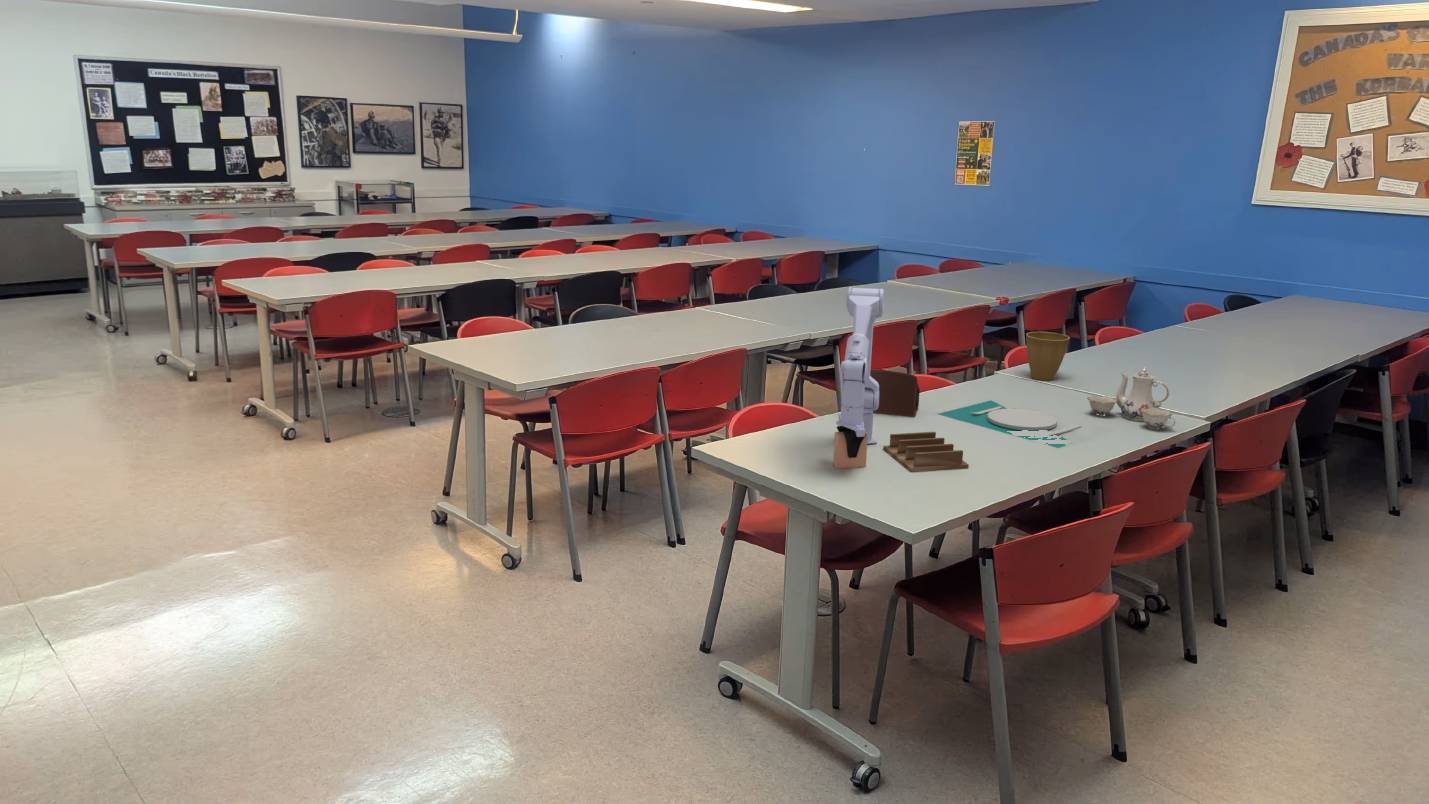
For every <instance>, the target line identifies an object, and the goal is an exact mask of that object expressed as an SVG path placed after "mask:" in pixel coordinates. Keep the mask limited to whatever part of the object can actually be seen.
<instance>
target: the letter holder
mask: <svg viewBox="0 0 1429 804" xmlns="http://www.w3.org/2000/svg"><path fill="white" fill-rule="evenodd" d="M870 376H871V377H872V378H873V379H874V380H876V381H877V382H878V384H879V406H878V409H877V410H876V411H874V412H873V414H878V415H890V416H901V417H909V418H910V417H911V418H915V417H916V415H917V413H918V411H919V403H920V394H921V393H920V390H921V389H920V387H919V386H920V385H919V383H918V377H917V376H916V375H914V374H911V373H910V374H909V373H906V372H900V371H894V370H885V369H871V370H870ZM865 388H868V387H865Z"/></svg>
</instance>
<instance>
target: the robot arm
mask: <svg viewBox="0 0 1429 804" xmlns="http://www.w3.org/2000/svg"><path fill="white" fill-rule="evenodd" d="M846 291H847V292H846V298H845V300H846V301H845V302H846V304H845V305H846V309H847V313H848V314H849V316H851V317H853V323H852V325H853V326H852V335H850V336H849V337H848V338H847V341H846V348H845V355H844V360H842V362H841V364H840V383H841V384H840V388H841V400H840V401H841V406H840V413H839V414H838V420H836V421H835V425H837V426H836V429H837V432H843V434H844V436H845V439H846V443H847V453H848V457H849V458H856V457H857V454H858V451H859V448H860V445H861V443H862V441H863V439H864V438H865V436H866V433H867V434H868V438H867V445H871V444H872V445H873V444H877V443H878V441H877V440H875V439H874V438H873V427H874V426H873V424H874V413H873V412H874V411H876V410H877V409H878V406H879V384H878V382H877V381H876V380H874V379H873V378H872V377H871V376H870V370H872V369H871V367H872V353H873V350H872V349H873V335H874V325H875V322H876V319H878V318H882V317H883V314H884V307H885V305H884V304H885V290H884V289H883V288H867V287H865V288H864V287H852V286H849V288H847V290H846ZM865 387H868V388H865ZM850 431H851V432H850ZM865 432H866V433H865Z"/></svg>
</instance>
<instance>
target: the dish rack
mask: <svg viewBox="0 0 1429 804" xmlns="http://www.w3.org/2000/svg"><path fill="white" fill-rule="evenodd" d="M889 435H890V436H889V445H883V446H882V447H883V448H882V449H883V450H884V451H885V452H886V453H887V454H889V455H890V456H891V457H892V458H894V459H895V460H896V461H897V462H898V463H899V464H900V465H902V466H903V467H904V468H905V469H906V470H908V471H909V472H911V473H914V472H917V473H918V472H929V471H931V472H933V471H944V470H960V469H961V470H962V469H969V468H970V467H969V466H970V465H969V464H968V463H967V462H966V461H964V460H963V459H964V458H963V456H964V455H963V454H964V450H962V449H958V450H954V445H955V444H953V443H945V441H946V440H945V438H944V437H936V435H937V432H936V431H922V432H920V431H919V432H905V433H902V432H901V433H890V434H889Z"/></svg>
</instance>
